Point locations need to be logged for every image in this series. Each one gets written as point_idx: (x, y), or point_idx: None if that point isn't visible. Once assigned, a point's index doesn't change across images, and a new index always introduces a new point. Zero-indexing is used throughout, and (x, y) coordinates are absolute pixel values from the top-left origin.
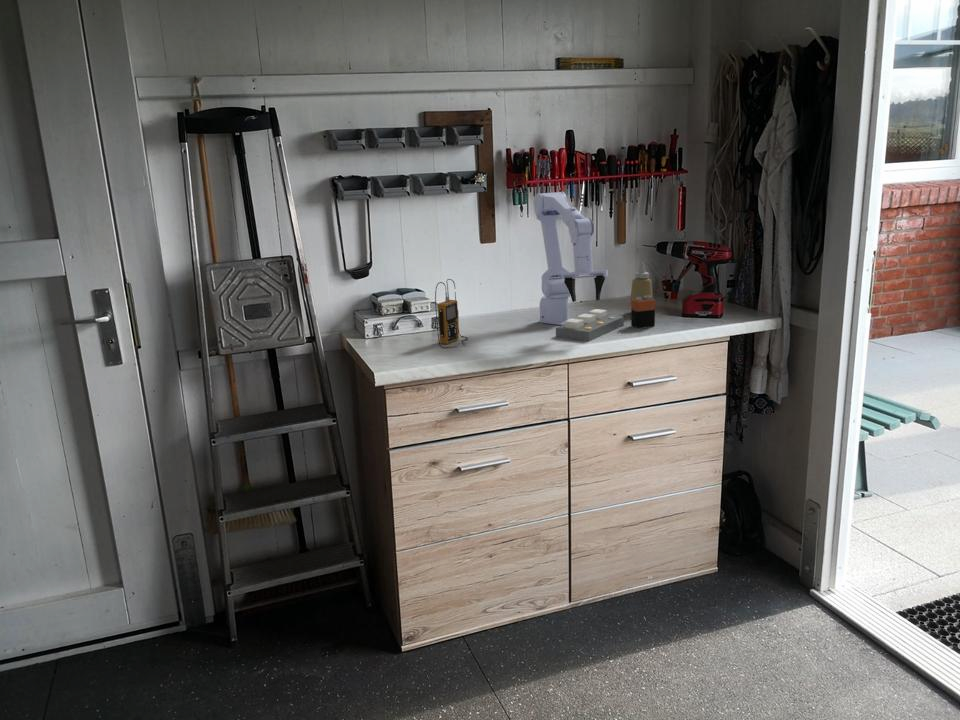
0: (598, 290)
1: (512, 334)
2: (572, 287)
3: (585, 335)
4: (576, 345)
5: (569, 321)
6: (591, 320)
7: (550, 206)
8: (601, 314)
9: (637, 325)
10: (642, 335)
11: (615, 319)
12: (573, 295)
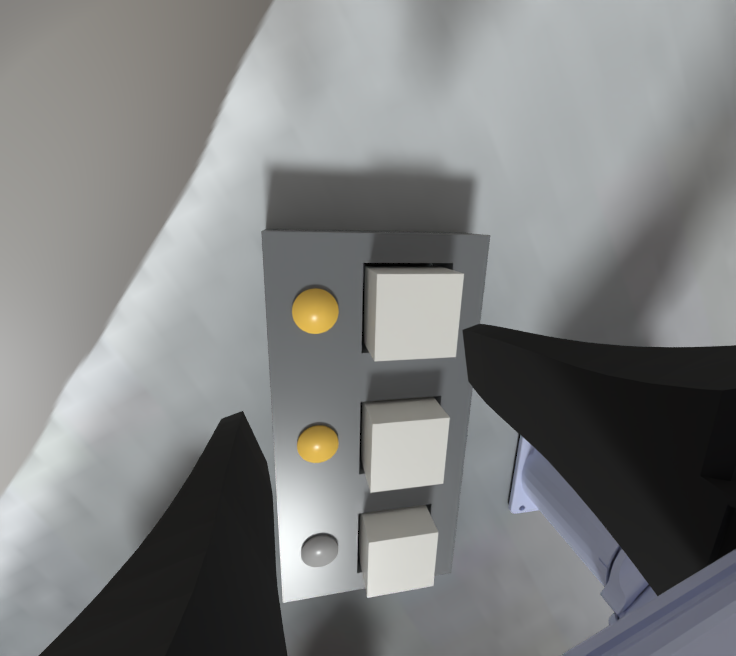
0: (178, 497)
1: (667, 179)
2: (589, 393)
3: (287, 230)
4: (279, 108)
5: (434, 281)
6: (367, 436)
7: None
8: (366, 539)
9: None
10: (87, 470)
11: (286, 540)
12: (505, 349)
